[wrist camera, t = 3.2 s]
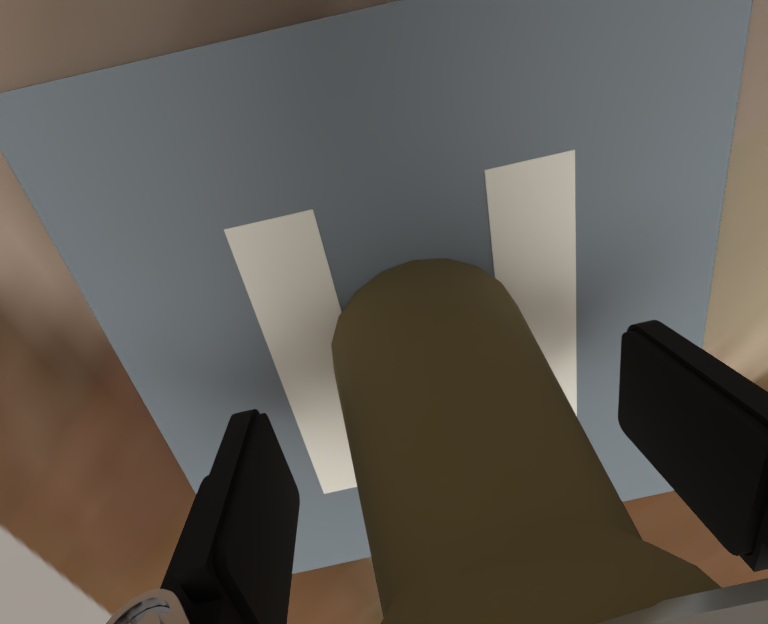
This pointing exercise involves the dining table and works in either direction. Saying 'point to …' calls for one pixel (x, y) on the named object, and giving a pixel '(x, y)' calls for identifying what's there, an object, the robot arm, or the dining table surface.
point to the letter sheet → (387, 205)
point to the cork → (481, 464)
